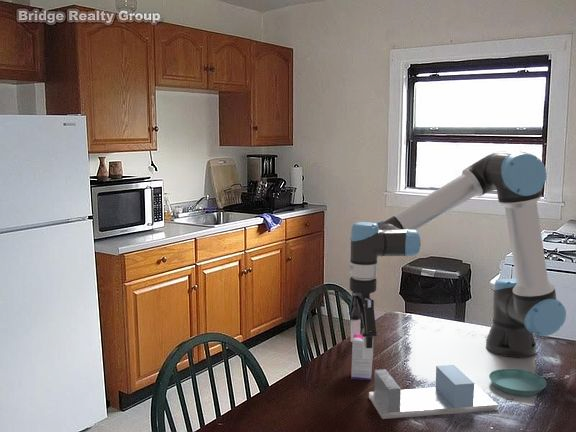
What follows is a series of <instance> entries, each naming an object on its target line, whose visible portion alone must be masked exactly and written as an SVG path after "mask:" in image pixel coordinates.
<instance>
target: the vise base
mask: <svg viewBox="0 0 576 432" xmlns="http://www.w3.org/2000/svg"><path fill="white" fill-rule="evenodd" d="M373 386H374V389H373V390H374V391H369V392H368V399H369V400H370V401H371V403H372V405H373V406H374V408H375V409H376V411H377V413H378V414H379V416H380V418H381V419H382V420H385V419H387V420H388V419H398V418H399V419H400V418H402V419H403V418H413V417H415V418H416V417H424V416H426V417H427V416H441V415H451V414H463V413H467V414H468V413H481V412H491V411H492V412H493V411H499V410H498V409H499V407H498V406H499V404H498V403H497V402H496V401H494V400H493V398H491V397H490V396H489V395H488V393H486V392H485V391H483V389H482V388H481V387H480V386H478V385H477V384H474V405H473V406H470V407H456V408H454V407H453V406H452V404H451V403H450V402H449V401H448V400H447V399H446V398H445V397H444V396H443V395H442V394H441V393H440V391H439V390H438V389H437V388H436V386H435V387H423V388H422V387H421V388H409V389H408V388H407V389H406V388H405V389H401V388H402V387H400V386H399V384H398V383H397V382H396V380H395V379H394V378H393V377H392V375H391V374H390V373H389V372H388V370H387V369H386V368H385V369H374V385H373Z"/></svg>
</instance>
